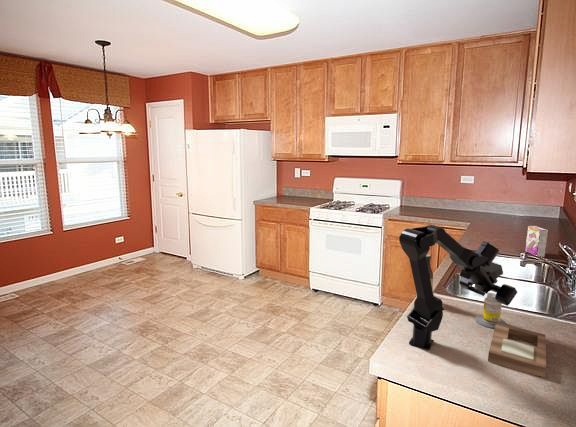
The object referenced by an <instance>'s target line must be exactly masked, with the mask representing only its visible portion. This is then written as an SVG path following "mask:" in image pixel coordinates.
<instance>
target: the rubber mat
mask: <svg viewBox="0 0 576 427" xmlns="http://www.w3.org/2000/svg"><path fill="white" fill-rule="evenodd" d="M474 319H475V322H476V323H478V324H479V325H480V326H482V327H484V328H489V329H493V330H494V329H495V325H496V324H490V323H487V322H485V321H484V320H483V314H477V315H476V316H475V318H474ZM499 324H504V325H508V324H507V322H506V321H505V320H504V319H502V318H500V322H499Z"/></svg>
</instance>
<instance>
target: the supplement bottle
mask: <svg viewBox="0 0 576 427" xmlns="http://www.w3.org/2000/svg"><path fill="white" fill-rule="evenodd" d="M486 295H487V296H486V297H485V298H484V300H483V308H482V315H483V320H484V321H485V322H487V323H490V324H496V323H499V322H500V319H501V314H502V307H503V306H502V305H503V304H502V303H499V302H497V300H496V299H495V295H496V292H488V293H487V294H486Z"/></svg>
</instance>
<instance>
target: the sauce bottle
mask: <svg viewBox="0 0 576 427" xmlns="http://www.w3.org/2000/svg"><path fill="white" fill-rule="evenodd" d="M426 259H427V264H428V269H429V275H430V280H431V285H432V290H433V287H434V273H433V270H432V268H431V260H432V255H431V254H430V253H428V254H427V256H426ZM433 291H434V290H433ZM415 296H416V297H415V298H417V293H416V292H415Z"/></svg>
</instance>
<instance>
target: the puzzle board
mask: <svg viewBox="0 0 576 427" xmlns="http://www.w3.org/2000/svg"><path fill="white" fill-rule="evenodd" d="M510 338H514V339H516V340H514V339H510ZM518 340H520V341H518ZM522 341H523V342H522ZM524 341H525V342H529V343H532V344H529V343H525V342H524ZM533 344H536V345H533ZM546 346H547V345H546V334H544V333H540V332H536V331H532V330H529V329H524V328H520V327H515V326H511V325H508V324H507V325H504V324H499V323H496V325H495V329H493V333H492V338H491V341H490V345H489V350H488V355H487V362H489V363H492V364H497V365H499V366H503V367H506V368H509V369H513V370H517V371H519V372H522V371H523V373H527V374H529V373H530V374H529V375H532V374H533V376H536V375H537V377H539V376H541V377H540V378H543V377H544V378H543V379H545V378H546V374H547V373H546V372H547V353H546V351H547V349H546Z"/></svg>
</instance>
